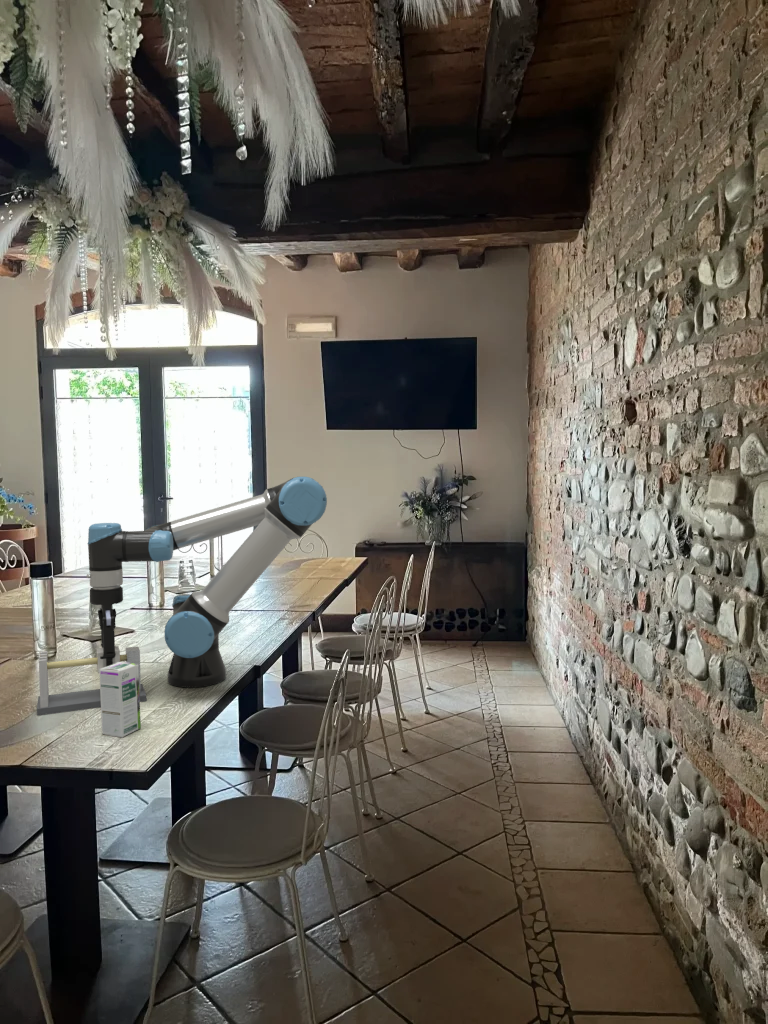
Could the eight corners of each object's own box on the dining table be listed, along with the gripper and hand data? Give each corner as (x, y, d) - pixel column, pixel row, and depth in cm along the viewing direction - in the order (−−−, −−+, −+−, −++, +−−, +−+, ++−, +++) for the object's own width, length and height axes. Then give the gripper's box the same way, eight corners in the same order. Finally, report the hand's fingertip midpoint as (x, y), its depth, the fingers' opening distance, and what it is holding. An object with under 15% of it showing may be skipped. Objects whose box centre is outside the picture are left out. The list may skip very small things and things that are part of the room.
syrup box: (122, 738, 149) (120, 670, 148) (100, 734, 151) (98, 667, 150) (141, 728, 154) (139, 663, 154) (119, 725, 157) (118, 660, 156)
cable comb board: (142, 689, 182) (141, 641, 181) (146, 701, 173) (145, 650, 172) (38, 702, 172) (36, 651, 171) (37, 715, 163) (35, 661, 162)
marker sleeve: (118, 665, 177) (118, 645, 177) (120, 670, 172) (119, 650, 172) (97, 668, 175) (96, 648, 174) (98, 673, 170) (97, 652, 170)
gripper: (88, 582, 179) (91, 673, 180) (90, 593, 162) (93, 693, 164) (120, 580, 182) (122, 669, 183) (125, 591, 166) (128, 689, 167)
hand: (109, 680), depth 174 cm, fingers closed on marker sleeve, 5 cm apart
